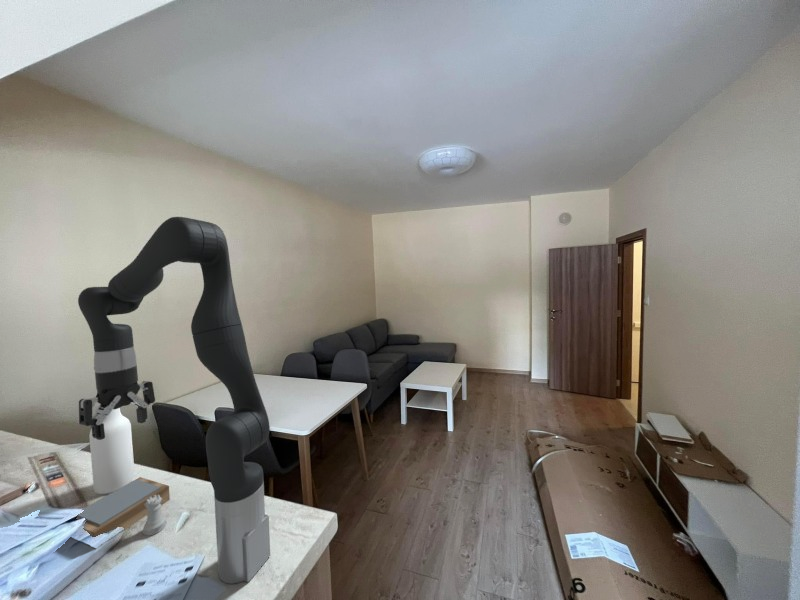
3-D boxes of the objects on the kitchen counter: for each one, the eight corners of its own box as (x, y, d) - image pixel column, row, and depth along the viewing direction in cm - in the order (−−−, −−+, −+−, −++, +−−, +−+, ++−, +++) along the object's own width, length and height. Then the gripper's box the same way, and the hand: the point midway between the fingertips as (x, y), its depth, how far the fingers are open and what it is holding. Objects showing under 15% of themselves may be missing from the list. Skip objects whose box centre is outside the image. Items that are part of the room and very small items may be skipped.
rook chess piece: (162, 518, 75) (160, 489, 75) (170, 526, 73) (168, 495, 73) (140, 531, 72) (137, 500, 71) (147, 540, 69) (145, 507, 69)
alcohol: (99, 500, 82) (90, 395, 80) (90, 488, 87) (81, 389, 85) (139, 481, 90) (132, 385, 88) (129, 472, 94) (122, 380, 92)
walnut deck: (169, 499, 82) (168, 485, 82) (95, 549, 67) (94, 532, 67) (141, 490, 86) (140, 477, 86) (64, 535, 71) (63, 519, 70)
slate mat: (160, 488, 81) (160, 486, 81) (100, 526, 68) (99, 524, 68) (136, 481, 84) (136, 479, 84) (74, 515, 72) (74, 513, 72)
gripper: (87, 376, 65) (94, 447, 66) (158, 360, 78) (163, 419, 79) (67, 374, 67) (74, 443, 68) (139, 358, 81) (144, 416, 82)
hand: (122, 430), depth 74 cm, fingers open, 8 cm apart
